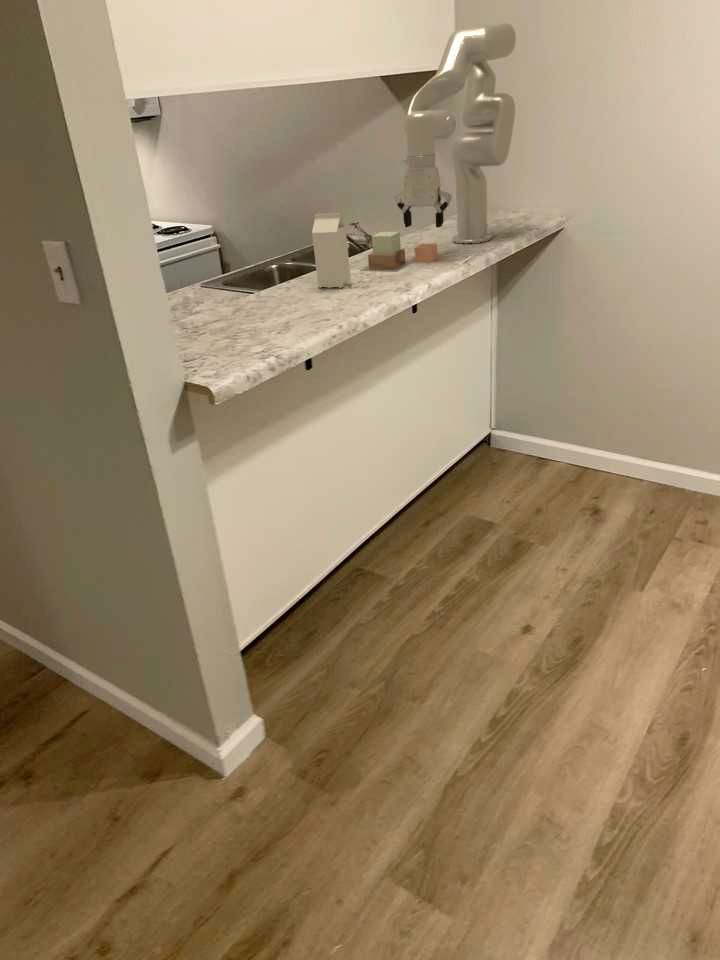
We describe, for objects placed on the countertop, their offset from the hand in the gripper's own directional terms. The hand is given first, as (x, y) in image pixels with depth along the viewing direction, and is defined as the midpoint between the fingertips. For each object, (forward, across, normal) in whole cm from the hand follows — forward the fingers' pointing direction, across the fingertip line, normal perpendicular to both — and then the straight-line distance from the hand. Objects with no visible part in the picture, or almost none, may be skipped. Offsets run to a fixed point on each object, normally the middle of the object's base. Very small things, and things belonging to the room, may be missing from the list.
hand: (423, 226), depth 211 cm
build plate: (+11, -9, -7) cm, 16 cm away
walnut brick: (+10, -9, -7) cm, 15 cm away
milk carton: (+12, -16, -26) cm, 32 cm away
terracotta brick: (+10, 0, +1) cm, 11 cm away
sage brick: (+6, -9, -7) cm, 13 cm away
